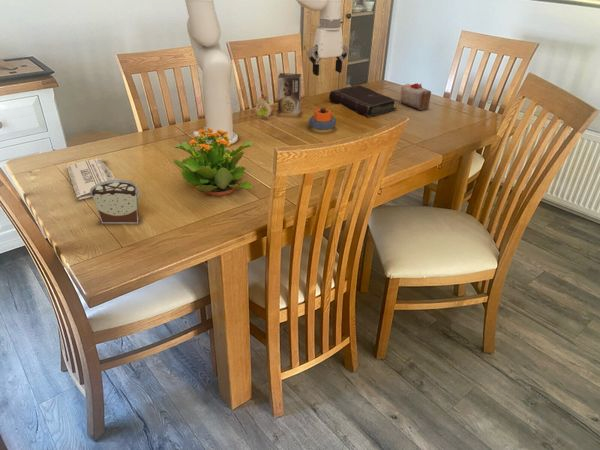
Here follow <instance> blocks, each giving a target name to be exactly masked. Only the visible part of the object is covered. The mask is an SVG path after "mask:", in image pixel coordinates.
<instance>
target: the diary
mask: <svg viewBox="0 0 600 450" xmlns="http://www.w3.org/2000/svg"><path fill="white" fill-rule="evenodd" d="M328 98H329V101H330V102H332V103H335V104H337V105H341V106H344V107H345V108H347V109H349V110H351V111H353V112H356V113H359V114H360V115H363V116H365V117H367V118H369V117H373V116H377V115H381V114H386V113H389V112H393V111H395V110H397V108H398V107H395V102H399V100H397V99H395V98H393V97H390V96H387V95H384V94H381V93H379V92H377V91H375V90H373V89H371V88H369V87H365V86H363V85H361V84H357V85H353V86H347V87H342V88H339V89H335V90H330V91H329V96H328Z"/></svg>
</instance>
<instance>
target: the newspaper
mask: <svg viewBox="0 0 600 450" xmlns="http://www.w3.org/2000/svg"><path fill="white" fill-rule="evenodd" d="M66 170H67V173H68V176H69V179H70V183H71V185H72V187H73V190H74V193H75V196H76V199H77V200H85V199H88V198H93V197H92V195H91V196H90V193H89V192H90V189H91V188H92V187H93V186H95V185H96V184H98V183H101V182H104V181H108V180H116V179H117V178H116V177H115V175H114V174H113V172H112V171H111V169H110V168H109V167H108V166H107V165H106V164H105V163H104V161H103V160H102V159H101V158H98V157H96V158H91V159H86V160H82V161H78V162H76V163H75V162H74V163H72V164H69V165H67V166H66Z"/></svg>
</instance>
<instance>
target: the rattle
mask: <svg viewBox="0 0 600 450" xmlns="http://www.w3.org/2000/svg"><path fill="white" fill-rule="evenodd" d="M260 93H261V95H262V96H261V97H259V98H258V101H257V102H256V104H255V113H256V115H257V116H264V117H267V118H268V117H270V116H271V115H272V109H271V105H270V104H269V103H268V102H267V100H268V94H265V95H264V93H263V92H262V91H261V90H260ZM260 107H263V108H260Z"/></svg>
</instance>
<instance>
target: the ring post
mask: <svg viewBox="0 0 600 450" xmlns="http://www.w3.org/2000/svg"><path fill="white" fill-rule="evenodd" d="M320 109H321V110H320V113H326V109H327V108H325V107H321V108H320ZM309 127H310V128H312V129H314V130H316V129H315V128H313V127H311V126H310V125H309ZM335 127H336V125H335V126H334V127H333V128H332V129H334V128H335ZM318 130H320V131H322V130H321V129H318ZM328 130H330V129H326V130H325V131H328Z"/></svg>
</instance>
